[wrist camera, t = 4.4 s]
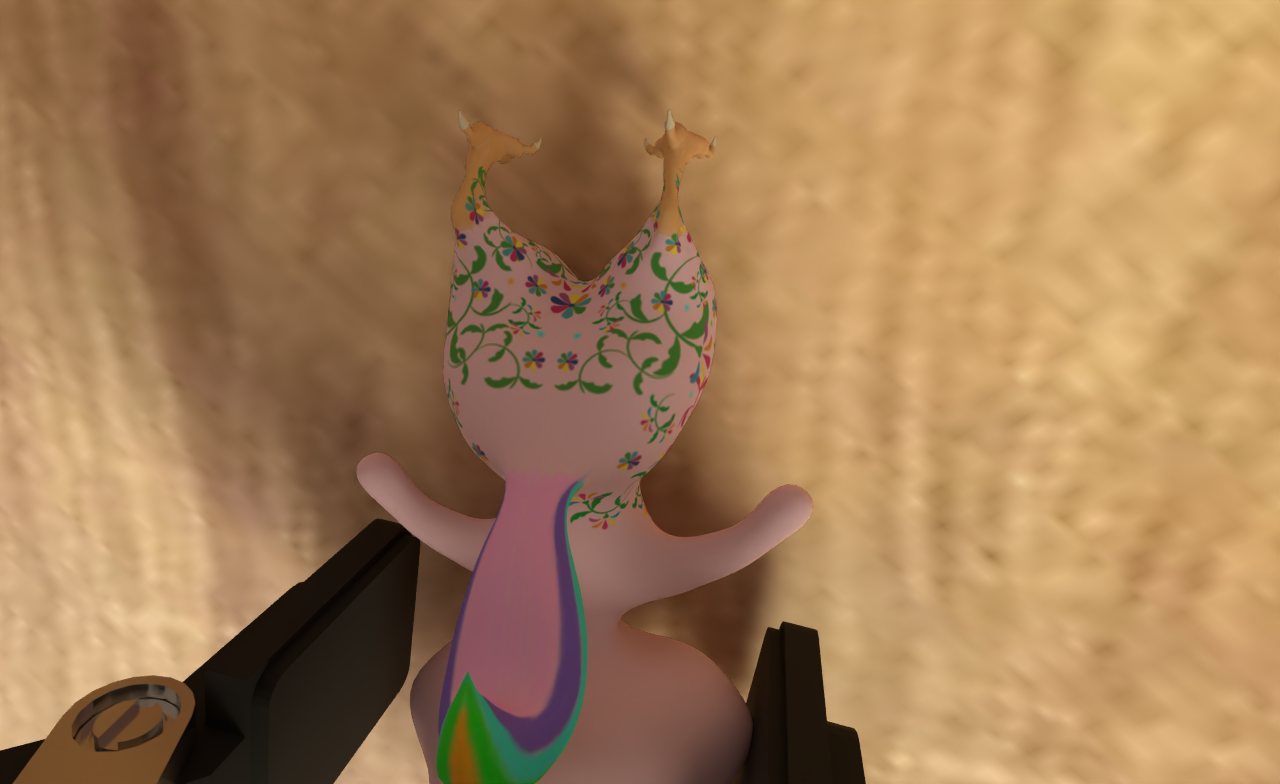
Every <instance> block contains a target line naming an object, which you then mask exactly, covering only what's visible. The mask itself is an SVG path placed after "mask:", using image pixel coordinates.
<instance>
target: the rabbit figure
mask: <svg viewBox="0 0 1280 784" xmlns="http://www.w3.org/2000/svg"><path fill="white" fill-rule="evenodd" d="M459 127H460V129H461V130H462V131H463V132H464V133H465V135H466V136H467V141H468V143H469V152H468V157H467V162H466V174H465V179H464V181H463V184H462V186H461V188H460V190H459V193H458V194H457V196H456V198H455V199H454V202H453V205H452V208H451V220H452V223H453V227H454V230H455V233H456V236H457V239H456V244H455V251H454V259H453V268H452V279H451V290H450V306H449V311H448V322H447V329H446V337H445V345H444V357H443V377H444V383H445V389H446V393H447V397H448V401H449V404H450V407H451V410H452V412H453V415H454V417H455V420H456V422H457V424H458V427H459V429H460V431H461V433H462V435H463V437H464V439H465V441H466V442H467V443H468V445H469V446H470V448H471V449H472V450H473V452H474V453H475V454H476V455H477V456H478V457H479V458H480V459H481V460H482V461H483V462H484V463H485V464H486V465H487V466H489V467H490V468H491V469H492V470H493V471H494V472H496V473H497V474H498V475H499V476H500V477H502V478H503V479H504V480H505V484H506V486H505V494H504V498H503V501H502V504H501V507H500V510H499V512H498V515H497V517H496V518H492V519H479V518H473V517H470V516H466V515H463V514H460V513H458V512H456V511H453V510H451V509H448V508H446V507H444V506H442V505H440V504H438V503H436V502H434V501H433V500H431V499H430V498H428V497H427V496H426V495H425V494H423V493H422V492H421V491H420V490H419V489H418V488H417V487H416V486H415V484H414V483H413V482H412V481H411V479H410V478H409V477H408V475H407V474H406V472H405V471H404V469H403V468H402V467H401V466H400V464H399V463H398V462H397V461H396V460H394V459H393V458H392V457H390V456H388V455H386V454H383V453H372V454H369V455H367V456H366V457H364V458H363V459H362V460H361V461H360V462H359V464H358V466H357V469H356V473H357V478H358V480H359V483H360V484H361V485H362V487H363V488H364V489H365V491H366V492H367V493H368V494H369V495H370V496H371V497H372V498H374V499H375V500H376V501H377V502H378V503H379V504H380V505H381V506H382V507H383V508H384V509H386V510H387V511H388V512H389V513H390V514H391V515H392V516H393V517H394V518H395V519H396V520H397V521H398V522H399V523H400V524H401V525H402V526H404V527H405V528H406V529H407V530H408V531H409V532H411V533H412V534H413V535H414V536H416V537H417V538H418V539H420V540H421V541H422V542H424V543H425V544H427V545H428V546H429V547H431V548H432V549H434V550H436V551H437V552H439V553H441V554H442V555H444V556H446V557H447V558H449V559H451V560H453V561H454V562H456V563H458V564H459V565H461V566H463V567H464V568H466V569H468V570H470V571H472V572H473V573H472V576H471V579H470V582H469V585H468V588H467V591H466V594H465V597H464V600H463V603H462V607H461V610H460V613H459V617H458V621H457V625H456V628H455V633H454V637H453V640H452V641H451V642H450V643H448V644H447V645H446V646H445V647H443V648H442V649H441V650H440V651H439V652H437V653H436V654H435V655H434V656H433V657H432V658H431V659H430V660H429V661H428V662H427V663H426V664H425V665H424V667H423V668H422V669H421V670H420V672H419V673H418V675H417V676H416V678H415V680H414V682H413V685H412V689H411V693H410V707H411V714H412V719H413V722H414V726H415V729H416V733H417V736H418V739H419V742H420V744H421V747H422V750H423V753H424V756H425V760H426V763H427V767H428V773H429V782H430V784H731V783H732V781H733V779H734V778H735V776H736V775H737V773H738V771H739V770H740V768H741V767H742V765H743V763H744V762H745V760H746V758H747V756H748V753H749V749H750V744H751V739H752V731H753V720H752V717H751V714H750V711H749V709H748V707H747V705H746V703H745V701H744V699H743V697H742V696H741V695H740V693H739V692H738V690H737V689H736V687H735V686H734V685H733V683H732V682H731V681H730V680H729V678H728V677H727V676H726V675H725V673H724V672H723V671H722V670H721V669H720V668H719V667H718V666H717V665H716V664H715V663H714V662H713V661H712V660H711V659H710V658H709V657H707V656H706V655H705V654H703V653H702V652H701V651H699V650H697V649H696V648H694V647H692V646H690V645H688V644H685V643H683V642H681V641H677V640H674V639H671V638H667V637H663V636H658V635H654V634H650V633H646V632H642V631H639V630H636V629H634V628H632V627H630V626H628V625H627V624H626V623H625V622H624V621H623V620H622V619H621V617H622V616H623V614H624V613H626V612H627V611H629V610H630V609H633V608H635V607H637V606H639V605H642V604H645V603H648V602H651V601H654V600H658V599H663V598H667V597H672V596H675V595H678V594H681V593H684V592H687V591H690V590H692V589H695V588H697V587H700V586H703V585H705V584H708V583H710V582H713V581H715V580H718V579H720V578H723V577H725V576H728V575H730V574H732V573H734V572H736V571H738V570H740V569H742V568H744V567H745V566H747V565H749V564H750V563H752V562H753V561H755V560H757V559H758V558H759V557H761V556H762V555H764V554H765V553H767V552H768V551H769V550H771V549H772V548H773V547H775V546H776V545H778V544H779V543H780V542H782V541H783V540H784V539H786V538H787V537H789V536H790V535H791V534H793V533H794V532H796V531H797V530H798V529H800V528H801V527H802V526H803V525H804V524H805V523H806V522H807V521H808V519H809V517H810V516H811V513H812V509H813V502H812V498H811V496H810V495H809V494H808V492H807V491H805V490H804V489H802V488H801V487H799V486H796V485H789V484H787V485H784V486H781V487H778V488H777V489H775V490H773V491H771V492H770V493H769V494H768V495H767V496H766V497H765V498H764V499H763V500H762V501H761V503H760V504H759V505H758V506H757V507H756V508H755V510H754V511H753V512H752V513H751V514H749V515H748V516H747V517H746V518H745V519H744V520H742V521H741V522H739V523H737V524H735V525H733V526H731V527H729V528H726V529H724V530H720V531H717V532H712V533H708V534H704V535H700V536H693V537H677V536H673V535H669V534H667V533H665V532H663V531H662V530H661V529H659V528H658V527H657V526H656V525H655V524H654V522H653V521H652V519H651V517H650V515H649V513H648V511H647V509H646V506H645V504H644V501H643V498H642V494H641V489H640V480H641V479H642V478H643V477H644V476H645V475H646V474H647V473H648V472H649V471H650V470H651V469H652V468H653V467H654V466H655V465H656V464H657V463H658V462H659V461H660V459H661V458H662V457H663V456H664V455H665V454H666V453H667V451H668V450H669V448H670V447H671V445H672V444H673V442H674V441H675V439H676V438H677V436H678V435H679V433H680V431H681V430H682V428H683V427H684V425H685V423H686V422H687V420H688V418H689V417H690V415H691V413H692V411H693V410H694V408H695V406H696V404H697V402H698V400H699V398H700V396H701V394H702V391H703V389H704V386H705V384H706V382H707V379H708V376H709V373H710V368H711V364H712V359H713V354H714V348H715V339H716V325H717V308H716V296H715V292H714V287H713V283H712V281H711V278H710V276H709V274H708V272H707V270H706V268H705V266H704V264H703V262H702V260H701V258H700V256H699V254H698V252H697V249H696V247H695V245H694V243H693V241H692V239H691V237H690V235H689V233H688V231H687V229H686V227H685V225H684V222H683V219H682V215H681V212H680V209H679V205H678V191H679V184H680V180H681V177H682V173H683V169H684V166H685V165H687V164H689V162H690V160H691V159H692V158H693V157H697V158H699V159H701V158H703V157H704V156H706V157H708V158H711V157H713V155H714V150H715V148H716V136H715V137H714V139H713V141H712V143H711V145H710V147H709V143H708V141H707V140H706V139H705V138H703V137H701V136H699V135H697V134H694V133H692V132H690V131H688V130H687V129H686V128H685V127H684V126H683V125H682V124H680V123H678V122H674V120H673V118H672V115H671V112H670V110H669V109H668V114H667V120H666V122H665V134H664V135H663V137H662V138H661V139H659V140H658V141H657V142H656V143H655V146H654V147H653V146H652V145H651V144H650V143H649V142H648V141H647V140H646V139H645V140H644V142H645V143H644V146H645V149H646V151H647V152H648V153H649V154H650V155H656V156H657V157H658V158H661V159H663V158H664V187H663V193H662V196H661V200H660V202H659V204H658V206H657V207H656V209H655V210H654V212H653V213H652V214H651V216H650V217H649V219H648V220H647V222H646V223H645V225H644V226H643V227H642V228H641V230H640V231H639V232H638V234H637V235H636V236H635V237H634V238H633V239H632V240H631V241H630V242H629V243H628V244H627V245H626V246H625V247H624V248H623V249H622V250H621V251H620V252H619V253H618V254H616V255H615V256H614V257H613V258H612V259H611V261H610V262H609V263H608V264H607V265H606V267H605V268H604V269H603V270H602V271H601V273H600V274H599V275H598V276H597V277H596V278H595V279H593V280H590V281H581V280H580V279H579V278H577V277H576V276H575V275H574V274H573V273H572V272H571V270H570V269H569V268H568V267H567V266H566V264H565V263H564V262H563V261H562V260H561V259H560V258H559V257H558V256H557V255H556V254H554V253H553V252H551V251H550V250H548V249H547V248H545V247H543V246H541V245H539V244H537V243H534V242H532V241H530V240H528V239H526V238H524V237H522V236H520V235H518V234H517V233H515V232H514V231H512V230H511V229H510V228H508V227H507V226H506V225H505V224H504V223H503V222H502V221H501V220H500V219H499V218H498V217H497V216H496V215H495V214H494V212H493V211H492V210H491V208H490V207H489V205H488V203H487V200H486V196H485V177H486V174H487V171H488V169H489V167H490V166H491V164H493V163H494V162H499V163H501V164H504V163H509V161H510V159H511V156H512V157H515V158H519V157H521V155H522V153H524V154H533V153H535V152H536V151H538V149H539V147H540V144H541V138H540V139H539V140H538V141H537V142H536V143H534V144H532V145H531V146H529V147H528V146H524V145H522V144H521V143H520V141H519V140H518V139H516V138H513V137H511V136H508V135H506V134H503V133H501V132H499V131H496V130H494V129H492V128H491V127H489V126H487V125H485V124H484V123H482V122H477V123H475V124H473V125H472V127H470V124H469V121H468V120H466V119H465V118H464V117H463V115H462V113H461V110H459Z"/></svg>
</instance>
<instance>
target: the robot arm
mask: <svg viewBox="0 0 1280 784" xmlns="http://www.w3.org/2000/svg"><path fill="white" fill-rule="evenodd" d="M419 555H420V539H418V538H417V537H415V536H412V533H411V532H409V531H408V530H407V529H406V528H405V527H404V526H402V525H401V524H399V523H395V522H391V521H387V520H383V519H376V520H374V521H373V522H371V523H370V524H369V525H368V526H367V527H366V528H365V529H363V530H362V531H361V532H360V533H359V534H358V535H357V536H356V537H354V538H353V539H352V540H351V541H350V542H349V543H348V544H346V545H345V546H344V547H343V548H342V549H341V550H340V551H338V552H337V553H336V554H335V555H334V556H333V557H332V558H330V559H329V560H328V561H327V562H326V563H325V564H324V565H323V566H321V567H320V568H319V569H318V570H317V571H316V572H315V573H313V574H312V575H311V576H310V577H309V578H308V579H307V580H305V581H304V582H300V583H298V584H296V585H295V586H293V587H292V588H291V589H289V590H288V591H287V592H286V593H285V594H284V595H282V596H281V597H280V598H279V599H278V600H277V601H276V602H274V603H273V604H272V605H271V606H270V607H269V608H268V609H266V610H265V611H264V612H263V613H262V614H261V615H259V616H258V617H257V618H256V619H255V620H254V621H253V622H251V623H250V624H249V625H248V626H247V627H246V628H244V629H243V630H242V631H241V632H240V633H239V634H238V635H236V636H235V637H234V638H233V639H232V640H231V641H230V642H228V643H227V644H226V645H225V646H224V647H223V648H221V649H220V650H219V651H218V652H217V653H216V654H215V655H213V656H212V657H211V658H210V659H209V660H208V661H206V662H205V663H204V664H203V665H202V666H201V667H200V668H198V669H197V670H196V671H195V672H194V673H193V674H192V675H190V676H189V677H188V678H187V679H186V680H185V681H183V682H180V681H178V680H176V679H173V678H171V677H162V676H154V675H153V676H140V677H132V678H128V679H124V680H120V681H116V682H113V683H110V684H108V685H106V686H103V687H101V688H99V689H96V690H94V691H92V692H91V693H89V694H88V695H86V696H85V697H83V698H82V699H80V700H78V701H77V702H75V703H74V705H73V706H72V707H71V708H70V709H69V710H68V711H67V712H66V713H65V714H64V715H63V716H62V717H61V719H60V720H59V721H58V723H57V724H56V725H55V727H54V728H53V729H52V731H51V732H50V734H49V735H48V736H47V738H46V739H44V740H40V741H36V742H32V743H28V744H24V745H20V746H17V747H13V748H9V749H5V750H1V751H0V784H333V783H334V782H335V781H336V779H337V778H338V776H339V775H340V774H341V772H342V771H343V769H344V768H345V767H346V765H347V764H348V762H349V761H350V760H351V758H352V757H353V755H354V754H355V753H356V751H357V750H358V748H359V747H360V746H361V744H362V743H363V741H364V740H365V739H366V737H367V736H368V734H369V733H370V732H371V730H372V729H373V727H374V726H375V725H376V723H377V722H378V720H379V719H380V718H381V716H382V715H383V713H384V712H385V711H386V709H387V708H388V706H389V705H390V704H391V702H392V701H393V699H394V698H395V697H396V695H397V694H398V692H399V691H400V690H401V688H402V686H403V684H404V682H405V680H406V677H407V675H408V671H409V666H410V656H411V645H412V633H413V622H414V611H415V600H416V588H417V577H418V566H419ZM746 705H747V707H748V709H749V711H750V714H751V717H752V720H753V731H752V739H751V744H750V749H749V753H748V756H747V758H746V760H745V762H744V763H743V765H742V767H741V768H740V770H739V771H738V773H737V775H736V776H735V778H734V779H733V781H732V783H731V784H866V782H865V776H864V769H863V763H862V756H861V750H860V743H859V738H858V734H857V732H856V730H855V729H854V728H850V727H847V726H843V725H839V724H836V723H832V722H828V721H827V717H826V707H825V697H824V687H823V677H822V667H821V656H820V646H819V636H818V631H817V630H815V629H811V628H807V627H803V626H800V625H796V624H792V623H788V622H784V621H783V622H782V623H781V626H780V628H779V630H778V629H774V628H770V627H768V628H767V631H766V634H765V637H764V641H763V644H762V648H761V652H760V655H759V659H758V662H757V666H756V670H755V673H754V677H753V681H752V684H751V688H750V691H749V695H748V699H747V702H746Z"/></svg>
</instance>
